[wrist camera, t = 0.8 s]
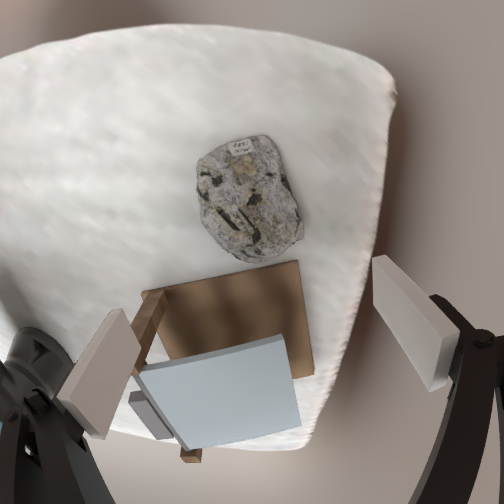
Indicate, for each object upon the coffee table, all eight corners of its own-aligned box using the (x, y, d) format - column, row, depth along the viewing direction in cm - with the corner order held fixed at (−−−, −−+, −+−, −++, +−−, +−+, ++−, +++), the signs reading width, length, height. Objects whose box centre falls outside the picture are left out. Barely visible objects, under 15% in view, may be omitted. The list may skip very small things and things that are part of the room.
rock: (306, 241, 38) (318, 261, 31) (232, 266, 39) (229, 291, 32) (268, 130, 33) (273, 125, 27) (189, 159, 34) (175, 162, 28)
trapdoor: (170, 445, 34) (170, 455, 33) (113, 366, 28) (110, 376, 27) (299, 419, 36) (302, 428, 34) (280, 329, 30) (284, 339, 28)
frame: (187, 391, 48) (174, 462, 33) (139, 292, 40) (98, 362, 26) (313, 371, 46) (332, 444, 32) (296, 259, 39) (323, 329, 25)
